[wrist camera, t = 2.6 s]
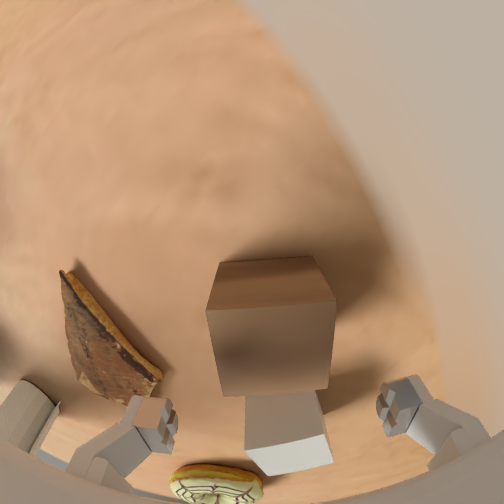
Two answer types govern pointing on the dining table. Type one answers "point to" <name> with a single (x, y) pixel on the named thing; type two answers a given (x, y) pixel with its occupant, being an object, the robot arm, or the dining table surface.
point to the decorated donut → (216, 485)
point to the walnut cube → (271, 326)
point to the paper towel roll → (26, 417)
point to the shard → (102, 348)
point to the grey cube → (286, 432)
